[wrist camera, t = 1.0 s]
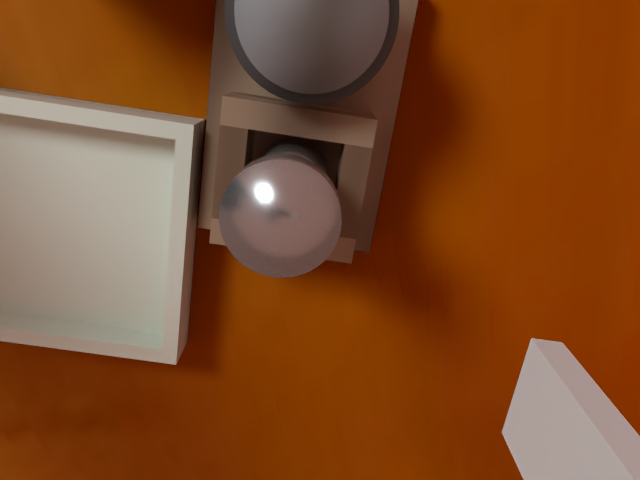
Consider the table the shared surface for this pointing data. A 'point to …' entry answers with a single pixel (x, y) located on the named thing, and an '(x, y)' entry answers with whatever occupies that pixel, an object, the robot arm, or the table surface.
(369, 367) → the table surface
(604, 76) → the table surface
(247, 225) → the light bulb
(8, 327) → the tray
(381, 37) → the block
